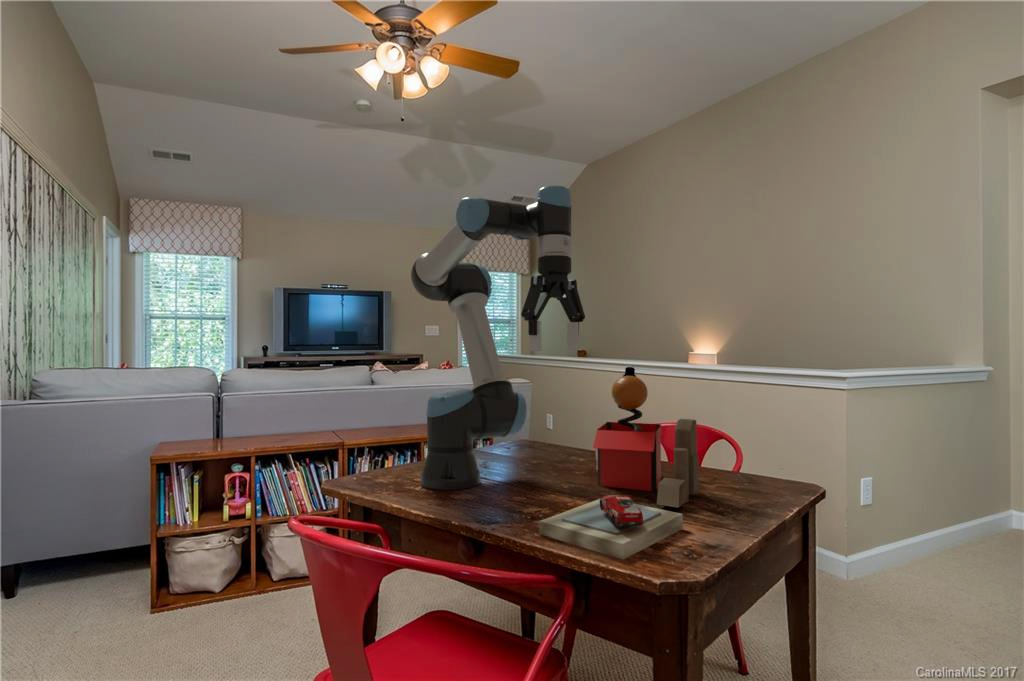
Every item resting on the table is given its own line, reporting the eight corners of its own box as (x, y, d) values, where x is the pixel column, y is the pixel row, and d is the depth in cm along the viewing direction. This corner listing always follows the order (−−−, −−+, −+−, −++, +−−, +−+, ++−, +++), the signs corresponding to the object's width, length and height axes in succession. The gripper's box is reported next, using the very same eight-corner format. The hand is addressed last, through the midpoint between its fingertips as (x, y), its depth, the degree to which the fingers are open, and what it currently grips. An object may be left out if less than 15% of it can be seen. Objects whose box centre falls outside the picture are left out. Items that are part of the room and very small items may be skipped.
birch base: (539, 537, 106) (539, 519, 106) (604, 511, 122) (604, 495, 122) (622, 561, 94) (622, 541, 94) (682, 529, 110) (682, 511, 110)
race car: (596, 506, 112) (597, 486, 111) (623, 505, 112) (623, 485, 112) (616, 531, 99) (616, 508, 98) (646, 530, 99) (646, 507, 99)
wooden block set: (675, 491, 138) (675, 418, 139) (699, 494, 135) (698, 419, 135) (652, 508, 124) (652, 426, 124) (678, 512, 121) (678, 428, 121)
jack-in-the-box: (607, 469, 163) (606, 365, 163) (663, 473, 157) (662, 365, 157) (588, 491, 138) (588, 369, 138) (653, 497, 133) (653, 370, 133)
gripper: (531, 247, 116) (531, 351, 116) (599, 260, 134) (599, 349, 134) (504, 251, 121) (505, 351, 121) (573, 263, 140) (574, 349, 139)
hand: (554, 350), depth 128 cm, fingers open, 13 cm apart
